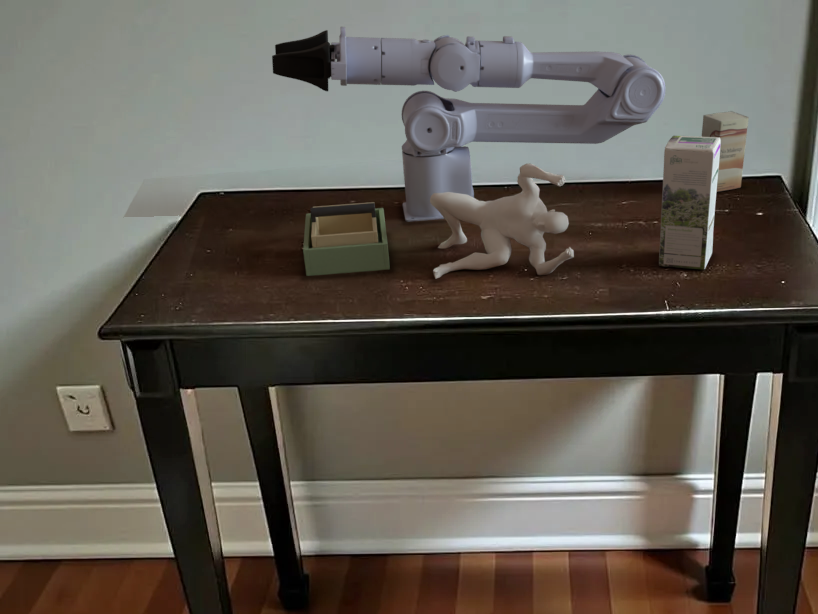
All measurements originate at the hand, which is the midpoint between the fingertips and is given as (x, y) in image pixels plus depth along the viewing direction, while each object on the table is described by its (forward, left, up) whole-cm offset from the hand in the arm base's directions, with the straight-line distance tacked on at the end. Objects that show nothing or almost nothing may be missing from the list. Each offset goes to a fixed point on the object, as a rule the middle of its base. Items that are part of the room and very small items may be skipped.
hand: (274, 58), depth 137 cm
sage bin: (-7, +14, -22) cm, 27 cm away
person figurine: (-26, +22, -22) cm, 41 cm away
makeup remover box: (-61, -2, -22) cm, 65 cm away
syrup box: (-48, +26, -22) cm, 59 cm away
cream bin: (-7, +14, -21) cm, 27 cm away
